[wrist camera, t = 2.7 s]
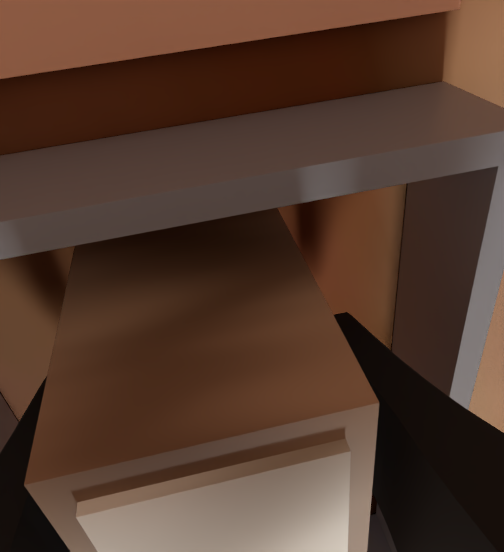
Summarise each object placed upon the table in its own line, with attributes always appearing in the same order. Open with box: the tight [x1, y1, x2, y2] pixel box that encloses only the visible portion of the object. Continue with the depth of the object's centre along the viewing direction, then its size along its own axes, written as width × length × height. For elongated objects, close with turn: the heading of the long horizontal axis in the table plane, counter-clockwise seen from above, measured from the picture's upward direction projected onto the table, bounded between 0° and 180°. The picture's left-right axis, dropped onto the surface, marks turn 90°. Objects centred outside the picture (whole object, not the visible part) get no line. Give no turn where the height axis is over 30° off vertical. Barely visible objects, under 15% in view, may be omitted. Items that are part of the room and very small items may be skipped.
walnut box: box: [24, 208, 379, 552], centre depth 10 cm, size 4×6×6 cm
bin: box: [0, 81, 504, 552], centre depth 14 cm, size 12×18×3 cm
